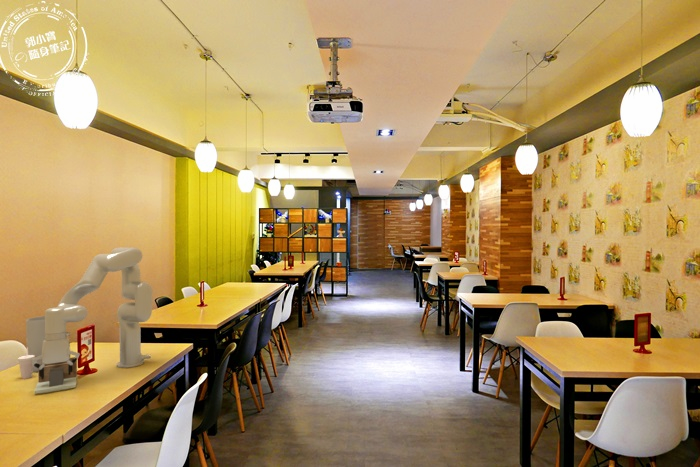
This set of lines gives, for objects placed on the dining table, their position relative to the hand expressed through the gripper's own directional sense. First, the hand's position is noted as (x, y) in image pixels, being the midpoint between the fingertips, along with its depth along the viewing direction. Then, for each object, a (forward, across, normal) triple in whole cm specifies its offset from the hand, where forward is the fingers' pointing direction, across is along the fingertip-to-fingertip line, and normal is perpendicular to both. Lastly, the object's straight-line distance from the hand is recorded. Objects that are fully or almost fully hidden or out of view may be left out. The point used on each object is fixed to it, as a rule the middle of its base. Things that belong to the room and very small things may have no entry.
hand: (56, 376), depth 186 cm
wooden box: (+5, 0, -14) cm, 15 cm away
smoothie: (+6, +13, -25) cm, 29 cm away
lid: (+4, 0, 0) cm, 4 cm away
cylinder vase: (+6, +8, -38) cm, 39 cm away
